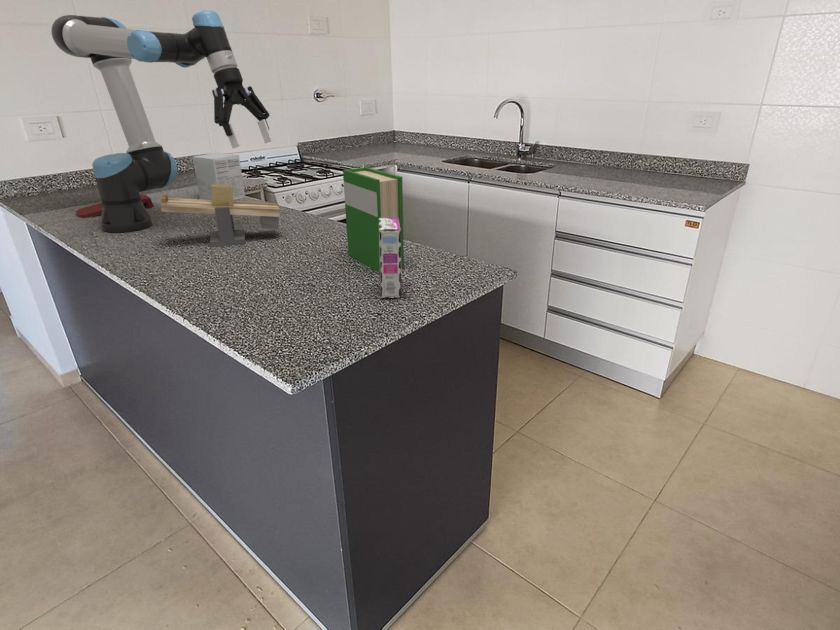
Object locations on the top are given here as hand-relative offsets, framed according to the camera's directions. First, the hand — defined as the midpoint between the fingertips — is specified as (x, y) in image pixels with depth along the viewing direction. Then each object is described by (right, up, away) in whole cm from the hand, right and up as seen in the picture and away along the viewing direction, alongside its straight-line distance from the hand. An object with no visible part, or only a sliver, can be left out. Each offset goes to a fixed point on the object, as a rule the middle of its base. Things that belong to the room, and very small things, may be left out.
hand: (253, 144), depth 156 cm
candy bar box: (+43, -45, -31) cm, 70 cm away
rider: (-10, -18, +2) cm, 21 cm away
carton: (-66, -12, +43) cm, 80 cm away
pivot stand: (-10, -28, +7) cm, 30 cm away
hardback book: (+38, -37, -13) cm, 54 cm away
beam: (-11, -23, +4) cm, 26 cm away
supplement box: (-32, -3, +61) cm, 69 cm away
